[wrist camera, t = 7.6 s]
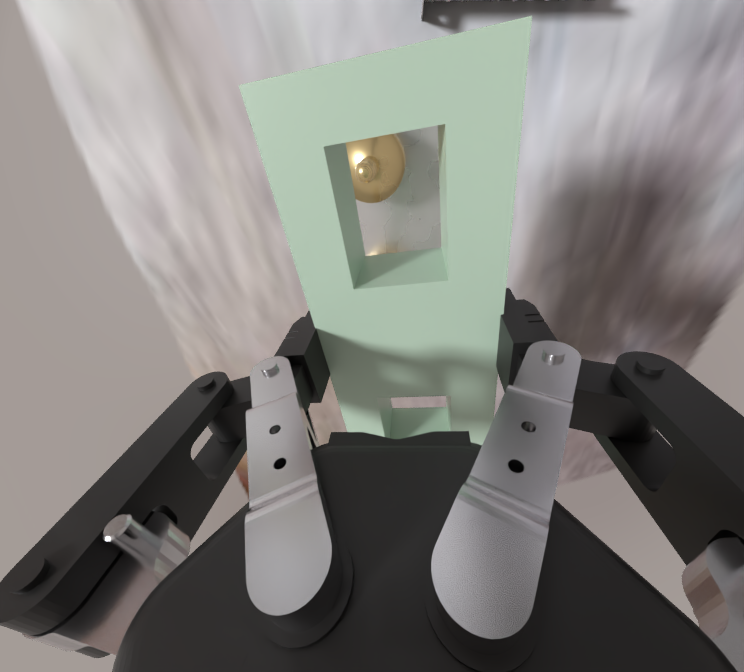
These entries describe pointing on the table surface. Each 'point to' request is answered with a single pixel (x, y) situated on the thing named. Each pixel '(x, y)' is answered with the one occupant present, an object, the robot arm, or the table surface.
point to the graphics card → (466, 1)
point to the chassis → (397, 190)
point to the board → (410, 268)
